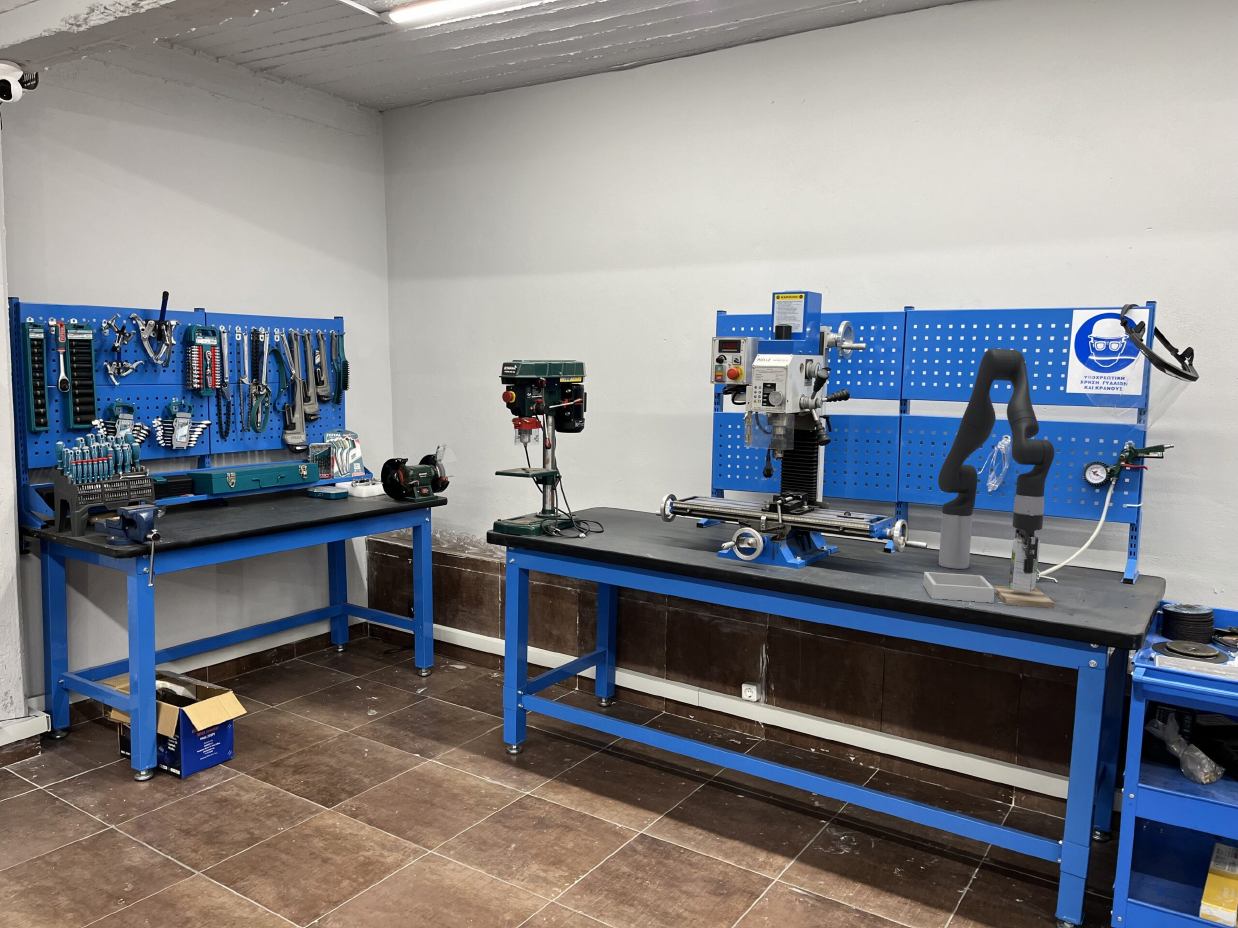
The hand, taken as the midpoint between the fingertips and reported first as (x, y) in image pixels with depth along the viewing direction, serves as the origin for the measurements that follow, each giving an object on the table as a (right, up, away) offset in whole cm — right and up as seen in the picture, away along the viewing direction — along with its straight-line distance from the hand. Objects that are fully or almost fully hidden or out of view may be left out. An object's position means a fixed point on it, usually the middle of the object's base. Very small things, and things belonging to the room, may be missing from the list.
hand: (1023, 569), depth 243 cm
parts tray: (-17, -7, +5) cm, 19 cm away
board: (0, -8, +1) cm, 8 cm away
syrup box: (0, -6, +1) cm, 6 cm away
